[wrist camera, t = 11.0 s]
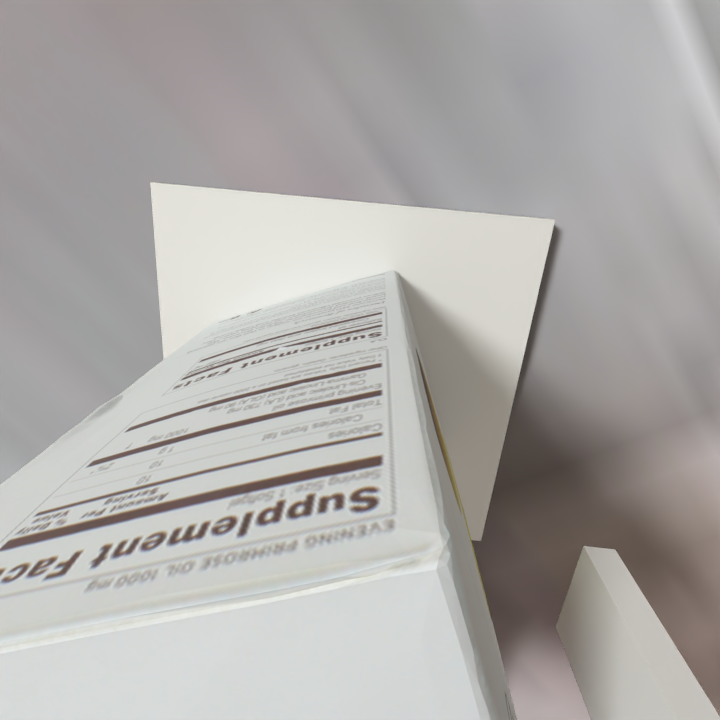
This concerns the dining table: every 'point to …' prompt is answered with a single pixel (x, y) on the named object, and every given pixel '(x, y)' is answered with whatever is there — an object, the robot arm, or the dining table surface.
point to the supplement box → (253, 536)
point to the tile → (359, 260)
